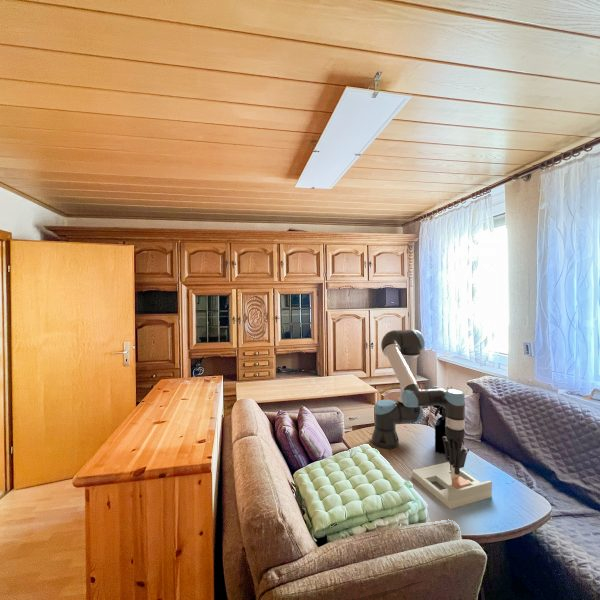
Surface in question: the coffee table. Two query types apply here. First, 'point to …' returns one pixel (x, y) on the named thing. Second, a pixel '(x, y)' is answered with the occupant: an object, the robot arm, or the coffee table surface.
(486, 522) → the coffee table surface
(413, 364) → the robot arm
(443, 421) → the vase
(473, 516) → the coffee table surface
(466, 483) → the block
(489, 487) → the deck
